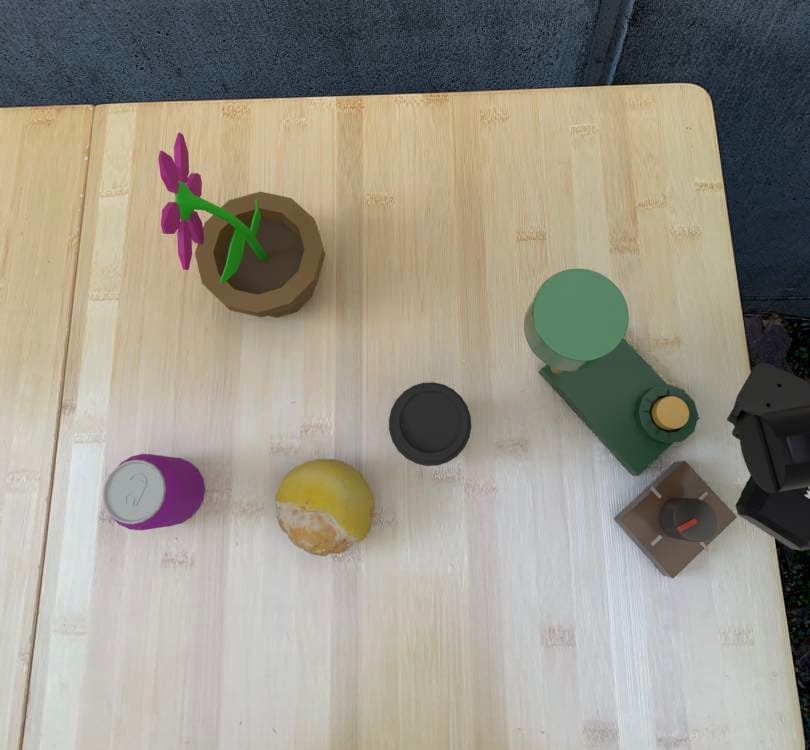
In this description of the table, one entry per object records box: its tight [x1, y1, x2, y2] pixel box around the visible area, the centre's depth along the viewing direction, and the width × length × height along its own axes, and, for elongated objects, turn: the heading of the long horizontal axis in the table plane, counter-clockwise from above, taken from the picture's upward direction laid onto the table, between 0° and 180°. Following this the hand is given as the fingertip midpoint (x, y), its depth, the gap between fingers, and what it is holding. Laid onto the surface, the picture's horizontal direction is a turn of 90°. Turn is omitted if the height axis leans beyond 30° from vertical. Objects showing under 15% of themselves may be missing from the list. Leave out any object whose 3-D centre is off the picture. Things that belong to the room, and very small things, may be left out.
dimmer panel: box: [613, 460, 738, 579], centre depth 76 cm, size 9×10×3 cm
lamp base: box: [538, 337, 700, 477], centre depth 79 cm, size 16×10×4 cm, turn 40°
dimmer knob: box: [659, 498, 717, 542], centre depth 73 cm, size 4×4×5 cm
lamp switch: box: [652, 396, 689, 430], centre depth 76 cm, size 4×4×2 cm
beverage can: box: [102, 453, 206, 531], centre depth 74 cm, size 8×8×12 cm
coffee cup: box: [388, 381, 472, 467], centre depth 73 cm, size 8×8×15 cm
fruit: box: [274, 458, 376, 557], centre depth 74 cm, size 10×11×10 cm
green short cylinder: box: [523, 268, 630, 371], centre depth 59 cm, size 8×8×5 cm
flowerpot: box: [157, 132, 326, 318], centre depth 71 cm, size 14×14×30 cm
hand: (772, 446), depth 68 cm, fingers open, 9 cm apart
